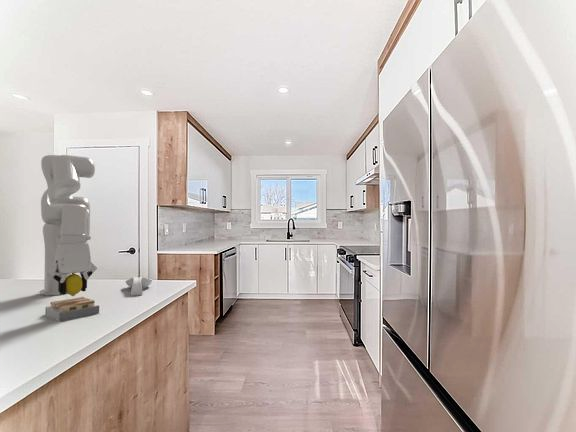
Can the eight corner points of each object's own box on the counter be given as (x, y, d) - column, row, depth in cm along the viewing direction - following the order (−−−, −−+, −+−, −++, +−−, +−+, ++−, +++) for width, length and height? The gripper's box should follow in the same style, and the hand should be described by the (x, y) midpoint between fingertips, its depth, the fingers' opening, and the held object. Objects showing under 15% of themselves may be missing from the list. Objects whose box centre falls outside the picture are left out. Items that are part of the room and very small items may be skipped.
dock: (45, 314, 114) (45, 307, 114) (83, 307, 124) (83, 300, 124) (60, 321, 107) (60, 313, 107) (99, 313, 117) (99, 305, 117)
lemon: (73, 298, 112) (73, 274, 112) (59, 297, 113) (59, 274, 114) (86, 295, 118) (86, 272, 118) (72, 294, 119) (73, 271, 119)
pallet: (50, 307, 114) (50, 301, 114) (81, 301, 122) (82, 296, 123) (62, 312, 109) (62, 306, 109) (94, 306, 117) (94, 300, 117)
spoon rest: (126, 286, 163) (126, 271, 163) (152, 285, 168) (152, 270, 168) (122, 297, 141) (122, 280, 141) (152, 295, 146) (152, 278, 146)
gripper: (94, 238, 125) (94, 287, 125) (40, 240, 111) (39, 295, 111) (104, 239, 121) (103, 289, 120) (49, 241, 107) (48, 298, 106)
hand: (72, 291), depth 116 cm, fingers closed on lemon, 5 cm apart
